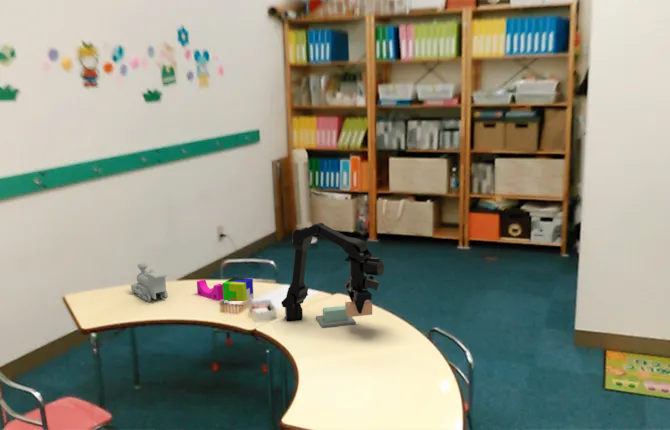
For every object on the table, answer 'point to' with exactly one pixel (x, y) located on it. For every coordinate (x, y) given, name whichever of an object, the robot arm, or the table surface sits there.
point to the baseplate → (335, 322)
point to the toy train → (149, 283)
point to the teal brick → (334, 314)
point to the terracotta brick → (352, 310)
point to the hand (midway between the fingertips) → (358, 311)
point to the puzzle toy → (238, 289)
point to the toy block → (210, 290)
